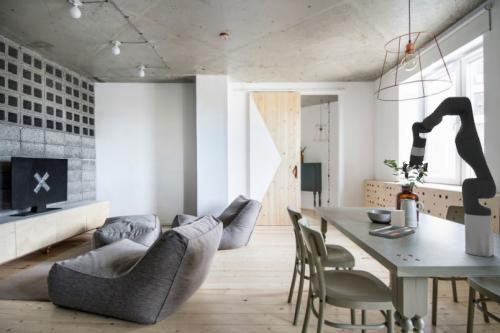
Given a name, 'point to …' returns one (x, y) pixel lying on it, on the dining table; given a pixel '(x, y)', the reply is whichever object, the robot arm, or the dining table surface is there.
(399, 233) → the grey tray
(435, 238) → the dining table surface
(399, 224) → the white upright block
